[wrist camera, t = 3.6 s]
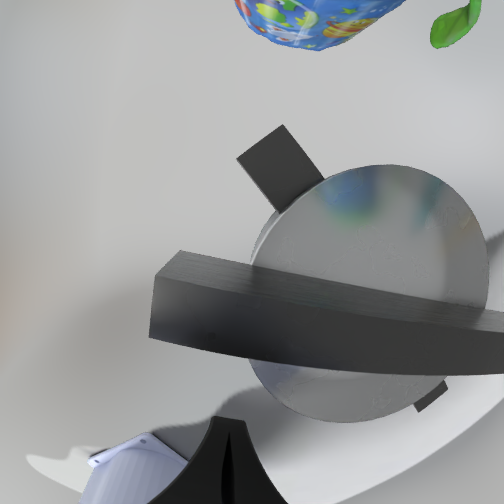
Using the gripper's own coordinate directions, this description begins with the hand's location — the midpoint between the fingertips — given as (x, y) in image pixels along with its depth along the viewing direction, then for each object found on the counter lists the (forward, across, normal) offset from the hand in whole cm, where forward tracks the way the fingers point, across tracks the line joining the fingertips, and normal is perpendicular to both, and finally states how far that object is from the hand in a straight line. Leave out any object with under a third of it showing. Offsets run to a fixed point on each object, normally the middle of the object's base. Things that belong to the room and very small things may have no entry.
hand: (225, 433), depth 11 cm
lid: (+3, -6, -6) cm, 9 cm away
